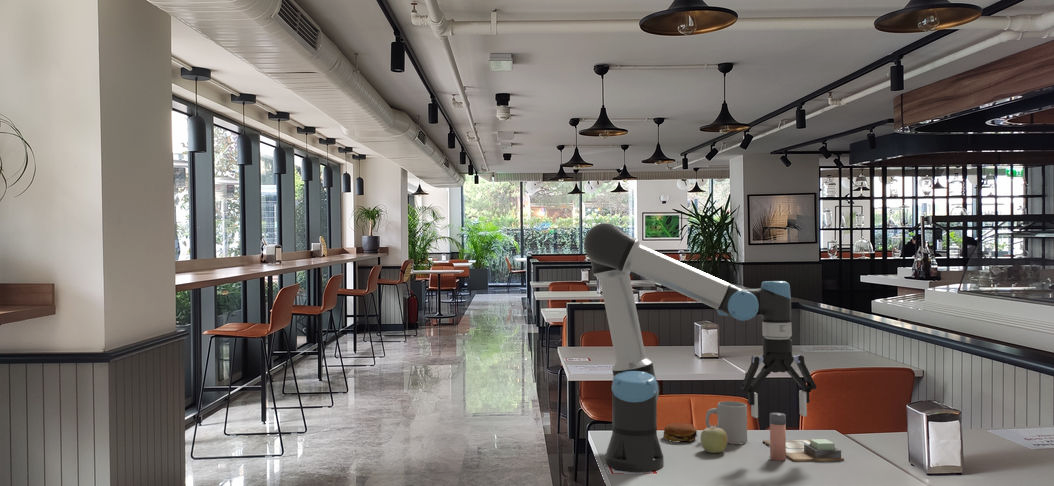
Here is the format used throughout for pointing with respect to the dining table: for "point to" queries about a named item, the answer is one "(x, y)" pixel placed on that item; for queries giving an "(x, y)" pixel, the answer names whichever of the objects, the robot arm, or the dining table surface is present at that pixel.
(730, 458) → the dining table surface
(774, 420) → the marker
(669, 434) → the burger
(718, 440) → the fruit
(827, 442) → the button
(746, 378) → the robot arm
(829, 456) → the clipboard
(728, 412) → the mug
